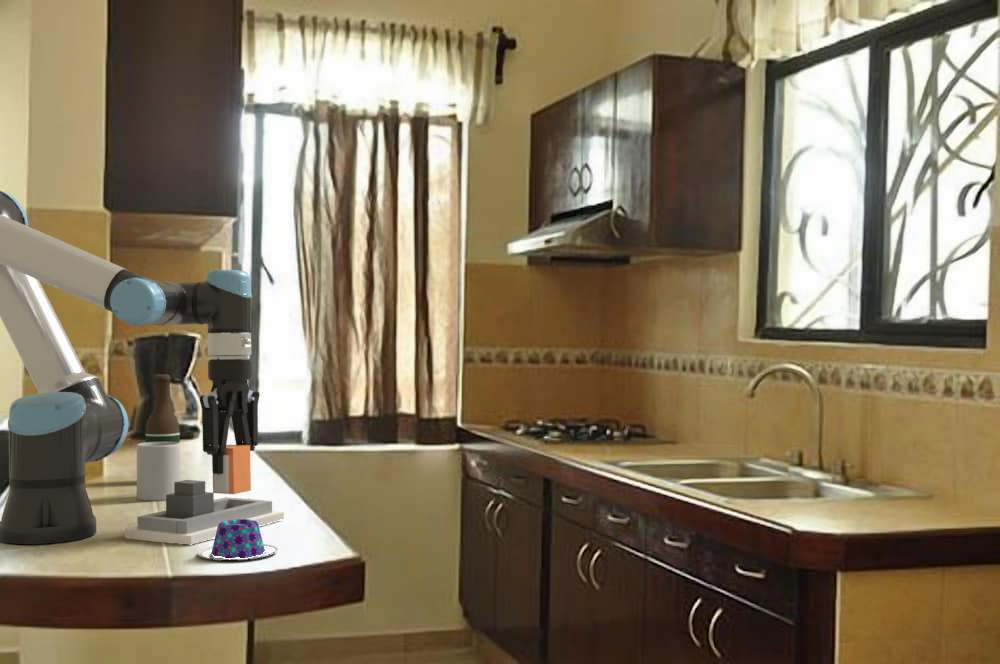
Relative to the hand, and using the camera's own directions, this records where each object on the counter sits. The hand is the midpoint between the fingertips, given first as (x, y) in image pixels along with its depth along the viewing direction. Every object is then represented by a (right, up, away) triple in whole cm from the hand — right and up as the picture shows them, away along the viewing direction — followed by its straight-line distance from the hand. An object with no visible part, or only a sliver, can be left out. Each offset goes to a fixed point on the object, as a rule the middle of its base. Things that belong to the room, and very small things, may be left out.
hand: (231, 489), depth 191 cm
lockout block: (0, 0, 0) cm, 0 cm away
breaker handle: (-5, -4, -9) cm, 11 cm away
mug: (-22, -6, +30) cm, 38 cm away
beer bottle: (-28, -6, +51) cm, 58 cm away
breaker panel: (-3, -6, -5) cm, 8 cm away
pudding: (+7, -7, -26) cm, 28 cm away
